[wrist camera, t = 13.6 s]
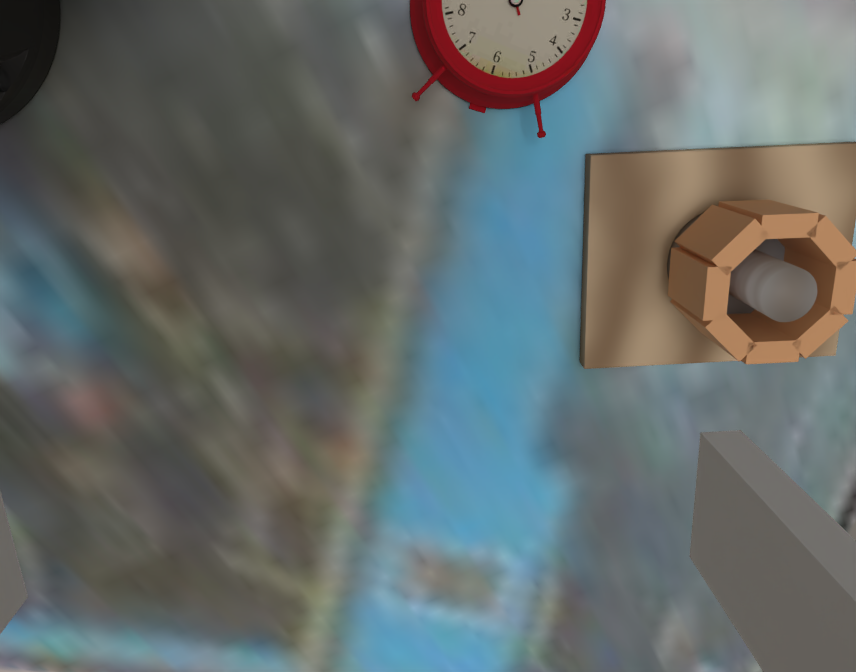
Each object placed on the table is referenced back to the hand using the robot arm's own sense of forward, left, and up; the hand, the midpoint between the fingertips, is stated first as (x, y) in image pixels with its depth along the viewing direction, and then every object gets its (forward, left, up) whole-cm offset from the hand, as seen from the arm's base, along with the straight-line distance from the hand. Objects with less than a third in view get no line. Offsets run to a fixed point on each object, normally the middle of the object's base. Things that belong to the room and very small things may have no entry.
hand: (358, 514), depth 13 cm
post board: (+20, -2, -31) cm, 37 cm away
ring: (+20, -3, -28) cm, 34 cm away
